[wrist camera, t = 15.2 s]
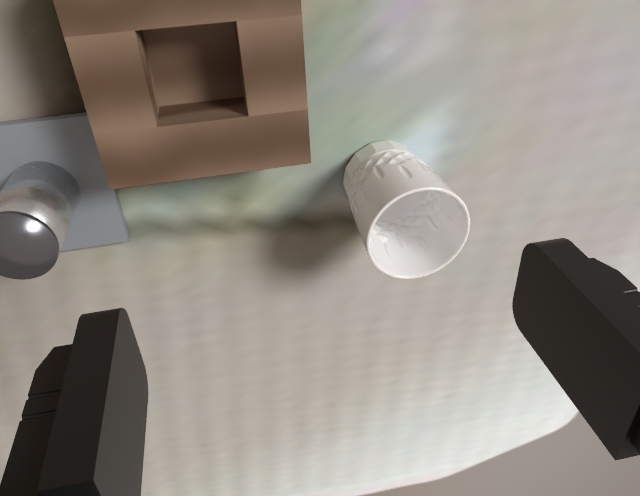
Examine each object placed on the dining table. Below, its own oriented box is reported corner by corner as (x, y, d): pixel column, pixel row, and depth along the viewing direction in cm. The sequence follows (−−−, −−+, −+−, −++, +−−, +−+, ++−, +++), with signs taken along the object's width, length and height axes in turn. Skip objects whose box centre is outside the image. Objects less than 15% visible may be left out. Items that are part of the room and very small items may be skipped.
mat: (-54, 128, 39) (-58, 132, 38) (92, 111, 40) (91, 115, 39) (4, 254, 45) (2, 259, 44) (129, 236, 46) (128, 241, 46)
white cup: (323, 204, 48) (350, 270, 40) (355, 122, 45) (393, 176, 37) (400, 221, 51) (441, 286, 43) (437, 145, 47) (489, 200, 39)
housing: (61, -52, 34) (40, -40, 29) (282, -68, 36) (297, -60, 31) (118, 153, 42) (110, 189, 37) (297, 131, 44) (310, 163, 39)
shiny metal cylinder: (-1, 164, 40) (-41, 218, 34) (70, 158, 41) (45, 209, 34) (21, 223, 43) (-12, 283, 36) (87, 216, 44) (67, 274, 37)
